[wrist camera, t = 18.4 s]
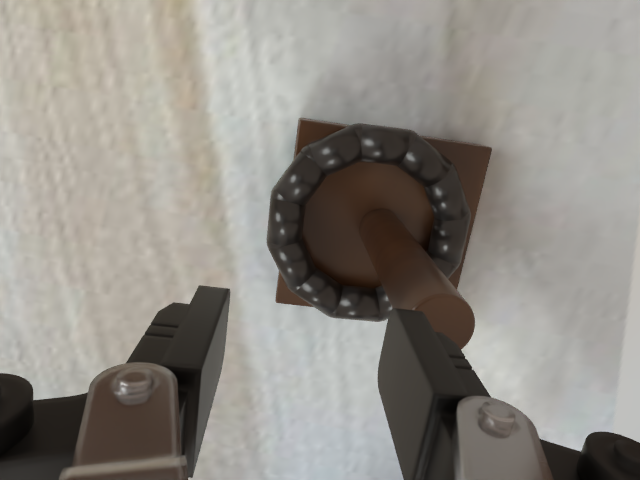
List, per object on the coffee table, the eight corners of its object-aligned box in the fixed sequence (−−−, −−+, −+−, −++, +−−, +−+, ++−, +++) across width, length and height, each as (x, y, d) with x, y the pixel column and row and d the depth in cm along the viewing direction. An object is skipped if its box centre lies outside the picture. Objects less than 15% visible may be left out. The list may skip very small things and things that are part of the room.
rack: (298, 117, 22) (301, 141, 11) (480, 144, 23) (646, 191, 12) (276, 291, 25) (260, 446, 14) (440, 310, 26) (547, 471, 15)
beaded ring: (278, 112, 21) (277, 114, 19) (480, 137, 22) (494, 140, 20) (261, 302, 23) (258, 317, 22) (440, 318, 24) (450, 333, 23)
